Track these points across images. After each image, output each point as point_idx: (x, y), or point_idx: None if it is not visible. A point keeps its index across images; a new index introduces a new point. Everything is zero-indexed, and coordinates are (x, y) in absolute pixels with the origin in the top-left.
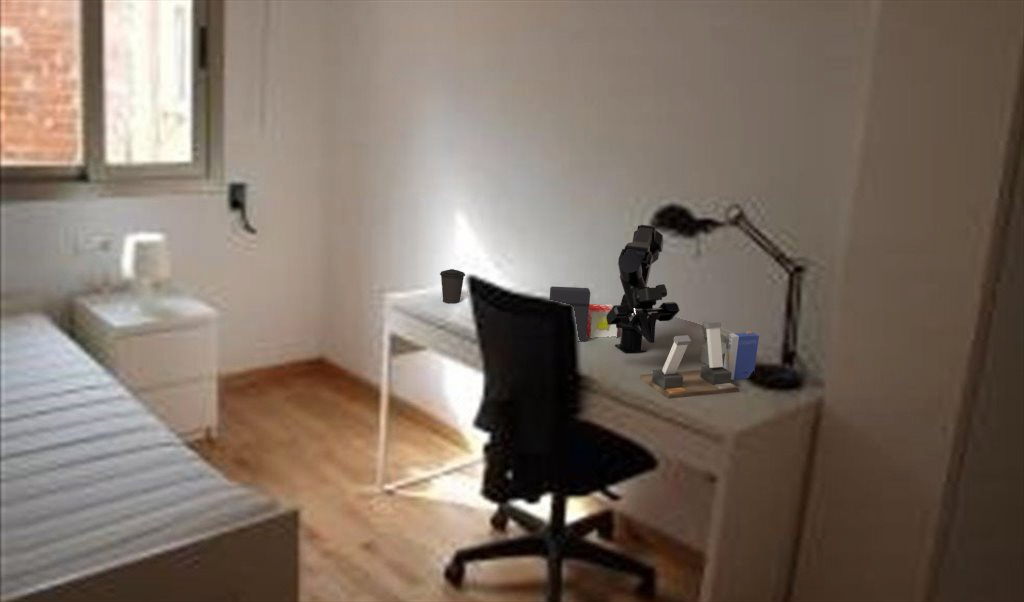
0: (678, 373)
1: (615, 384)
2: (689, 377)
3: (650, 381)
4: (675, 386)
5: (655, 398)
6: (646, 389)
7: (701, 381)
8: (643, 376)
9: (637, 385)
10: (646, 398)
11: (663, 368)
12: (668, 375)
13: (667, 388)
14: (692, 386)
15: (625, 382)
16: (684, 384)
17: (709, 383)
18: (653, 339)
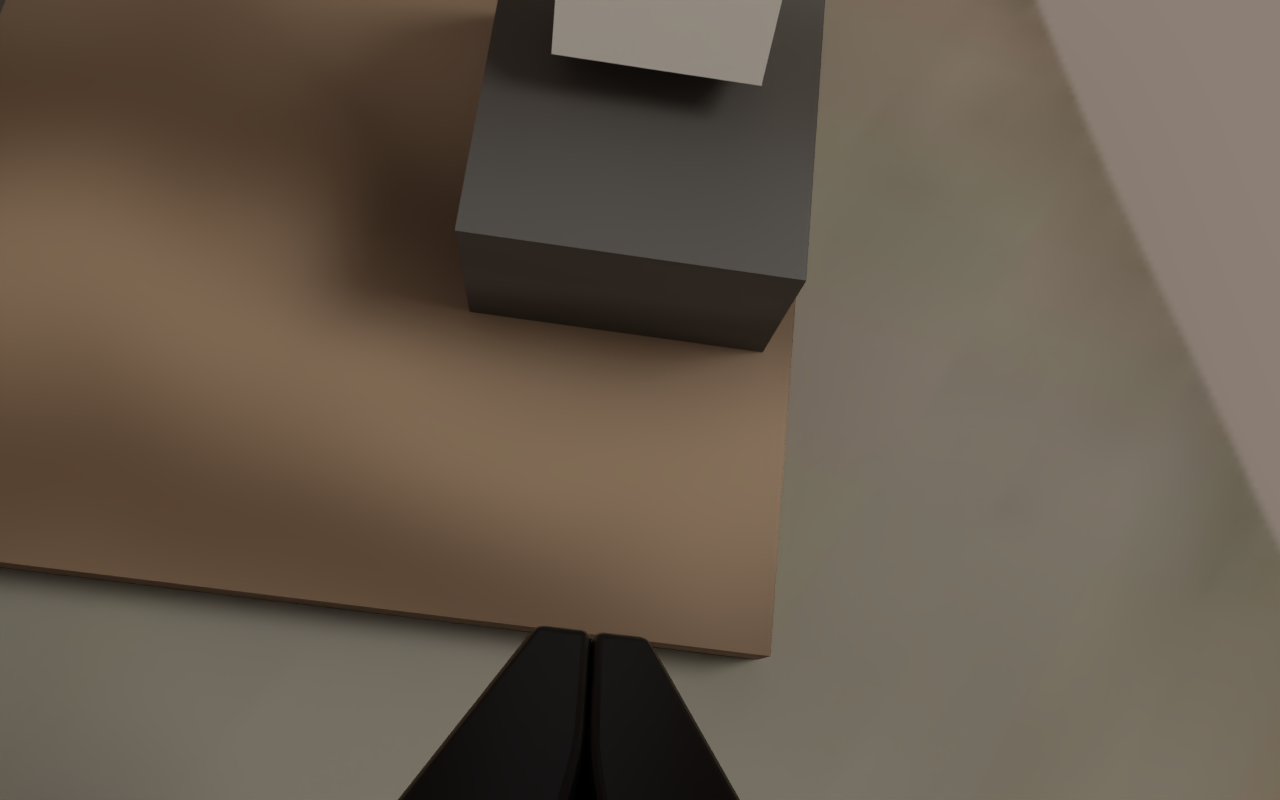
0: (113, 491)
1: (1224, 580)
2: (91, 285)
3: (782, 361)
4: None
5: (952, 21)
6: (901, 278)
7: (57, 99)
8: (763, 575)
9: (942, 438)
10: (1054, 58)
11: (772, 25)
12: None
13: None
14: (340, 7)
15: (1049, 599)
16: (390, 98)
17: (15, 5)
18: (564, 651)
